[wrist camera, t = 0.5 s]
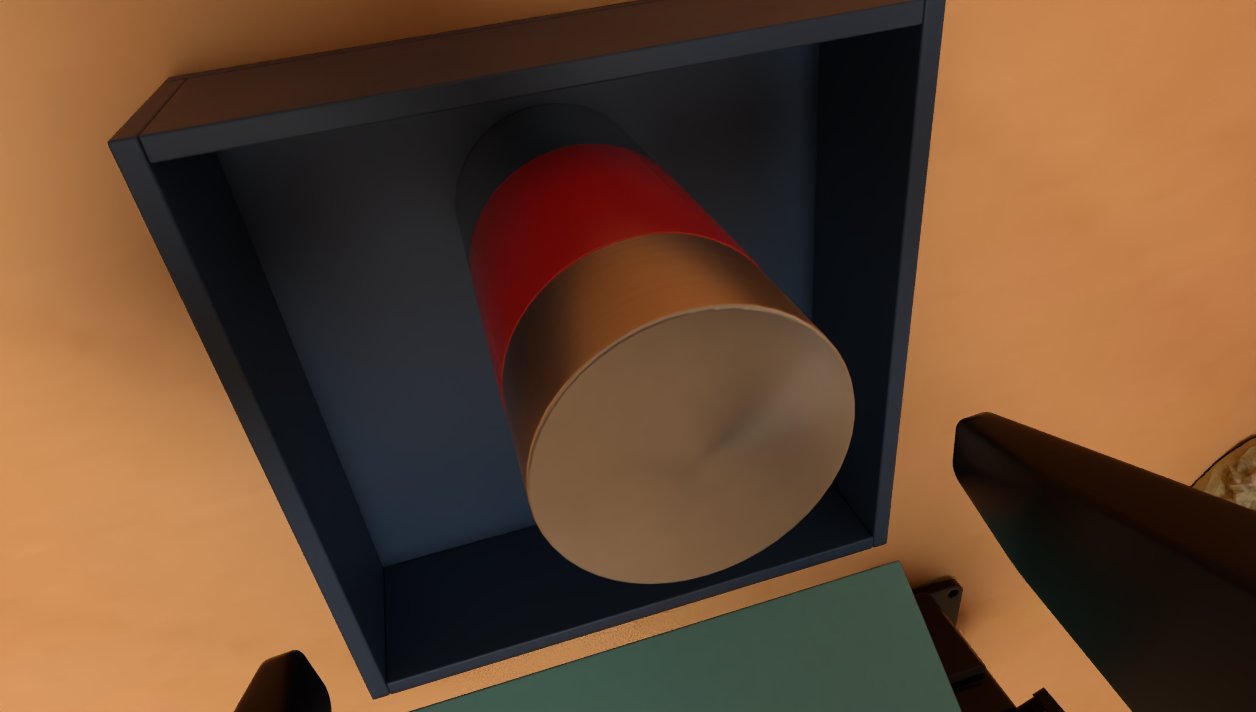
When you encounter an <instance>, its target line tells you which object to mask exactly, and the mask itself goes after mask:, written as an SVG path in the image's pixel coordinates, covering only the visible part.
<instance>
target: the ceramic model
mask: <svg viewBox="0 0 1256 712" xmlns="http://www.w3.org/2000/svg"><path fill="white" fill-rule="evenodd" d="M1193 488H1196V489H1198V490H1201V491H1204V492H1206V493H1209V494H1212V495H1214V496H1217V497H1220V498H1223V499H1225V500H1228V501H1231V502H1233V503H1236V504H1239V505H1241V506H1244V507H1247V508H1250V509H1252V510H1255V511H1256V438H1254V439H1252V440H1250V441H1248V442H1246V443H1245V444H1243V445H1242V446H1241V447H1239V448H1237V449H1235V450H1234V451H1233V452H1230V454H1228V455H1227V456H1225V457H1224V458H1223V459H1222V460H1220V461H1219V462H1217V463H1216V464H1214V467H1212V468H1210V471H1208V472H1206V473H1205V476H1203V477H1202V478H1200V479H1199V480H1198V481H1197V482H1196V483H1195V485H1194V486H1193Z"/></svg>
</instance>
